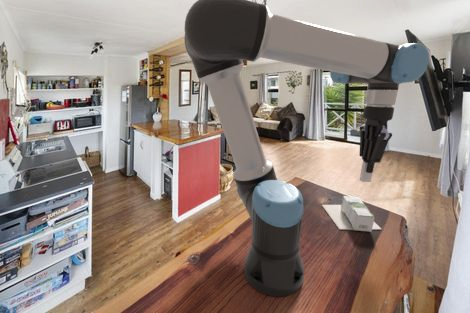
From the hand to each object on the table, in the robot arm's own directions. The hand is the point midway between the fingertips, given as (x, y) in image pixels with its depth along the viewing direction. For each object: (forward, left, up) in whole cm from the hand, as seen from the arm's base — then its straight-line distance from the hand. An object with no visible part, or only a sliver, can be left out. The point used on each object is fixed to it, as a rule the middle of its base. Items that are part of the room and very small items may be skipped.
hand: (365, 180), depth 74 cm
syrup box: (0, -3, -14) cm, 14 cm away
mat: (0, +7, -17) cm, 19 cm away
